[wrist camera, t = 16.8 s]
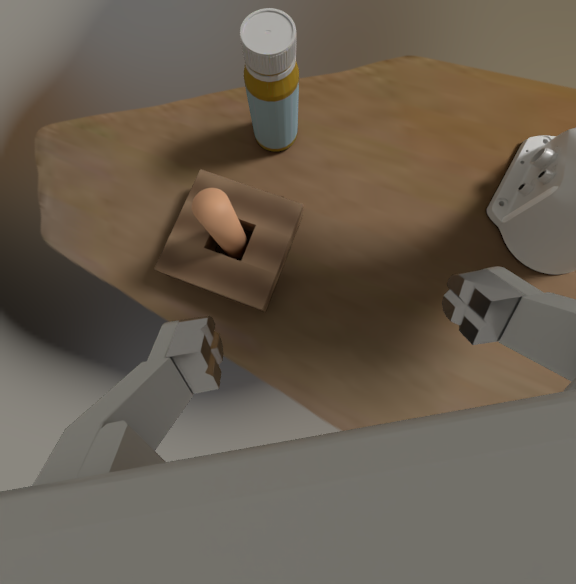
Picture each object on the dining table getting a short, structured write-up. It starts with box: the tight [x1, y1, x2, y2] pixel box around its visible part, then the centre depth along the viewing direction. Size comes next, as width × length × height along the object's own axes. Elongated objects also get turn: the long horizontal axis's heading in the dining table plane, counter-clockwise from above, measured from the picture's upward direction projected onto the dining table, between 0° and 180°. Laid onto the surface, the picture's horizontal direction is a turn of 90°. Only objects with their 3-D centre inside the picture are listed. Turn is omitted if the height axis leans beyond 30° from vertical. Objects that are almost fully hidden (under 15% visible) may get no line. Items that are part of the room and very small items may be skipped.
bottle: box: [240, 8, 299, 151], centre depth 35 cm, size 7×7×15 cm
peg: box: [192, 188, 249, 258], centre depth 34 cm, size 4×4×13 cm
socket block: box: [154, 169, 304, 312], centre depth 38 cm, size 16×16×4 cm
